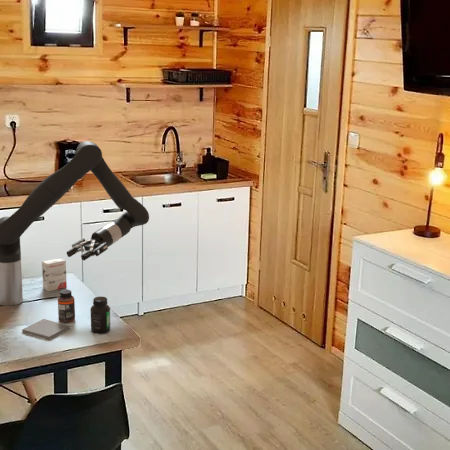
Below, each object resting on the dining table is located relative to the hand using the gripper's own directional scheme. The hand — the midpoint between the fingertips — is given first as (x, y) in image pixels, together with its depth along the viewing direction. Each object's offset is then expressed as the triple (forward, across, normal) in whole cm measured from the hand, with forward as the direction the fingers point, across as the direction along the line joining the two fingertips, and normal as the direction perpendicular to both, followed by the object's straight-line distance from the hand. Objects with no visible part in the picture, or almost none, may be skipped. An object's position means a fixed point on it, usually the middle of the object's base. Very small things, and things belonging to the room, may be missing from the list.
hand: (74, 256), depth 259 cm
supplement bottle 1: (+13, +1, +20) cm, 24 cm away
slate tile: (+23, +4, +17) cm, 29 cm away
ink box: (-5, -30, +22) cm, 37 cm away
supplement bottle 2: (+11, +17, +22) cm, 30 cm away
